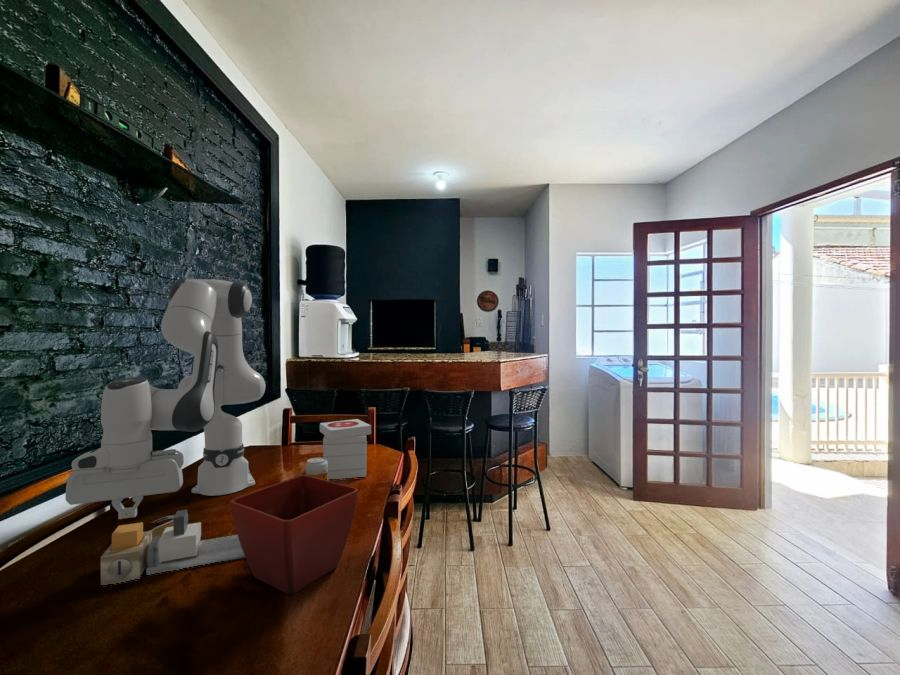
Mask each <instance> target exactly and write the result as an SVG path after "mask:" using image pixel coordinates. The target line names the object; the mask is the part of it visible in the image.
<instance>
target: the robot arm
mask: <svg viewBox="0 0 900 675" xmlns="http://www.w3.org/2000/svg"><path fill="white" fill-rule="evenodd" d="M252 296H253V295H252V291H251V289H250V287H248V285H247V284H245V283H241V282H239V281H234V282H233V281H230V280H229V281H228V280H224V279H216V278H212V279H204V278H195V279H194V278H193V279H192V278H190V277H189V278H188V277H187V278H180V279H178V280H176V281H175V282H173V283H172V284H171V286H170V289H169V296H168V297H169V303H168V305H167V307H166V310H165V313H164V315H163V317H162V319H161V324H160V331H161V335H163V336H162V337H164V339H165V341H167V342H168V343H169V344H171V345H172V346H173V347H174V348H176V349H178V350H180V351H182V352H186V353H189V354H191V355H193V357H194V359H193V365H192V367H193V368H192V373H191V374H190V375H186V376H185V377H183V378H182V379H181V380H180V382H179V384H178V386H177V389H176V388H173V389H171V388H168V389H165V388H159V387H156V386H153V385H151V384H150V383H149V380H148V379H147V378H145V377H136V376H134V377H126V378H118V379H116V380H113V381H111V382H110V383H107V384H106V386H105V387H104V390H103V393H102V397H101V406H100V407H101V409H100V423H101V427H102V428H103V430H102V431H103V432H102V434H103V435H102V438H101V441H100V448H96V449H93V450H91V451H88V452H85V453H83V454H81V455H79V456H78V457H76V458H75V459H73V460H72V462H71V468H72V470H73V471H72V472H71V473H70V474H69V475H68V477H67V480H66V487H65V501H66V503H67V504H69V505H71V506H72V505H73V506H74V505H80V504H88V503H97V502H105V501H111V505H112V507H113V508H114V509H115V511H116V512H118V514H117V516H118V520H123V519H124V520H125V519H129V518H136V517H137V515H138V507H139V505H140V503H141V502H142V501H143V499H144V496H150V495H151V496H152V495H158V494H160V495H161V494H168V493H173V492H177V491H179V490H181V487H182V486H183V484H184V479H183V478H184V475H183V469H182V467H183V465H184V462H185V461H184V454H183V453H182V452H181V451H179V450H176V449H175V448H174V449H172V448H170V449H165V450H153V433H152V430H153V431H179V432H180V431H181V432H190V433H191V432H192V433H195V432H198V431H200V430H202V429H203V435H204V448H203V452H202V456H203V457H202V458H203V462H202V463H201V464H200V465H199V466H198V469H197V484H196V485H195V486H194V487H192V488H191V493H193V494H200V495H202V496H209V497H210V496H211V497H212V496H223V495H229V494H233V493H236V492H239V491H242V490H244V489H246V488H248V487H252V486H254V485H256V481H255V479H254V477H253V476H252V474H251V471H250V469H249V461H248V460H247V458H245V457H244V455H245V447H244V445H245V444H244V443H243V423H242V420H240V418H238V417H237V416H234V415H232V414H230V413H227V412H224V411H223V410H222V408H221V407H222V406H225V405H226V406H227V405H240V404H242V405H243V404H248V403H252V402H256V401H259V400H260V399H261V398H262V397H263V396H264V394H265V391H266V381H265V379H264V377H263V376H262V375H261V373H259V372H257V371H256V370H255V369H254V368H252V367H251V366H250V365H249V363H248V362H247V360H246V358H245V355H244V351H243V350H244V348H243V347H244V346H243V324H242V317H244V316H246V314H247V313H249V312H250V310H251V307H252V303H253V297H252ZM218 365H219V366H222V367H223V368H224V369H225V371H222V372H221V371H219V372H217V369H218V368H217V366H218ZM128 498H132V502H134V504H133V506H130V507H125V506H124V505H123V503H122V501H123V500H124V499H128Z"/></svg>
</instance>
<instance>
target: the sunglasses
mask: <svg viewBox="0 0 900 675" xmlns="http://www.w3.org/2000/svg"><path fill="white" fill-rule="evenodd" d="M174 516H175V514H173V515H167V516H164V517H163V516H162V517H161V518H160V517H159V518H158V519H156V520H154V521H152V522H151V523H154V524H156V523H155V522H157V523H159V522H162V521H165V520H169V519H170V521H167V522H165V523H163V524H160V525H158V526H155V527H153V528H152V529H150V530H149V531H152V540H153V538H154V537H155V536H157V535H160V537H161V536H162V534H163V532H164V530H165V529H166V528H167V527H173V518H174ZM171 519H172V520H171ZM187 524H189V515H188V513H187Z"/></svg>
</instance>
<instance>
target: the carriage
mask: <svg viewBox="0 0 900 675" xmlns="http://www.w3.org/2000/svg"><path fill="white" fill-rule="evenodd" d="M187 514H188V509H182V510H177V511H176V513H175V514H174V515H175V516H174V515H173V516H174V518H173V519H172V520H173V527H167V528H166V529H165V530H164V532H163V534H162V536H161V537H160V539H159V541H158V555H160V562H163V561H169V560H174V559H180V558H185V557H191V556H197V554H198V542H199V541H201V537H202V522H200V521H199V522H194V523H193V522H192V523H188V524H187Z"/></svg>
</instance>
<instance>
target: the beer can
mask: <svg viewBox="0 0 900 675" xmlns="http://www.w3.org/2000/svg"><path fill="white" fill-rule="evenodd" d="M305 475H308V476H312V477H315V478H319V479H323V480H327V481H329V480H328V462H327V460H326V458H323V457H321V456H318V457H312V458H309V459H307V460H306V464H305Z"/></svg>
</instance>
